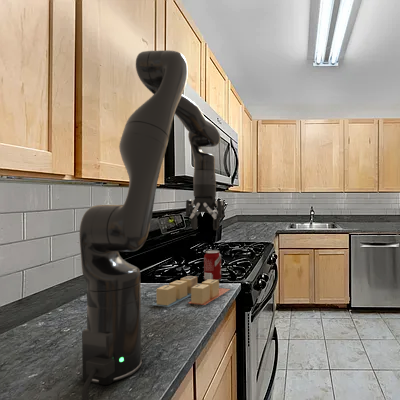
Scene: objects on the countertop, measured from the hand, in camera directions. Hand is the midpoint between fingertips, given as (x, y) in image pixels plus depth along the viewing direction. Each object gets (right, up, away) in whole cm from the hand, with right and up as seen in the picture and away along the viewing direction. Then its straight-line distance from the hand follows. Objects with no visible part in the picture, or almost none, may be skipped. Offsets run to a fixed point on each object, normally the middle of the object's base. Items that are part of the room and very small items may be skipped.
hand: (205, 229), depth 108 cm
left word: (-8, -23, -3) cm, 25 cm away
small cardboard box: (-7, -23, +3) cm, 24 cm away
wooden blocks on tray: (+2, -23, -2) cm, 23 cm away
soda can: (-3, -23, +18) cm, 29 cm away
